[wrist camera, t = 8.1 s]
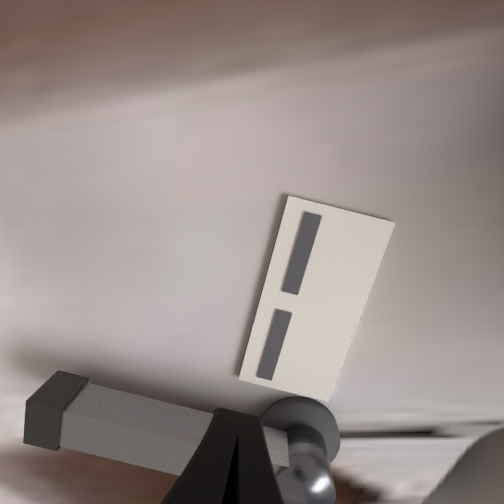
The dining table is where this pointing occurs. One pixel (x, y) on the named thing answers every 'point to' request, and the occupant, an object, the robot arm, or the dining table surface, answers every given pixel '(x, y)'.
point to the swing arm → (163, 435)
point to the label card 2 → (326, 257)
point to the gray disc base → (304, 419)
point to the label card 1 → (297, 348)
